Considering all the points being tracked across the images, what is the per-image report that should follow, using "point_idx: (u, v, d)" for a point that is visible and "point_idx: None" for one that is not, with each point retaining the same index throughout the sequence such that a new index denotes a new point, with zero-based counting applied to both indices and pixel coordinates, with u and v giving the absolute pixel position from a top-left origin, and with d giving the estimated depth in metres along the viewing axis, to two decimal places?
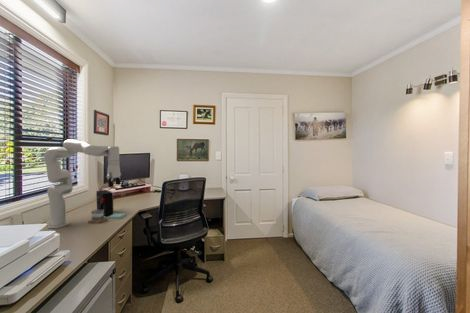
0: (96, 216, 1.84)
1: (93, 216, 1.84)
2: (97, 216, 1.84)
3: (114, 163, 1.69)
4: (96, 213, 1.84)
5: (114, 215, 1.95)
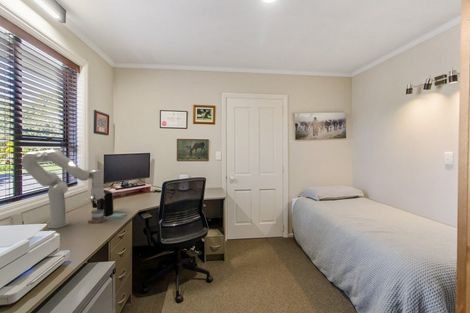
0: (96, 216, 1.84)
1: (93, 216, 1.84)
2: (97, 216, 1.84)
3: (97, 186, 1.82)
4: (96, 213, 1.84)
5: (114, 215, 1.95)
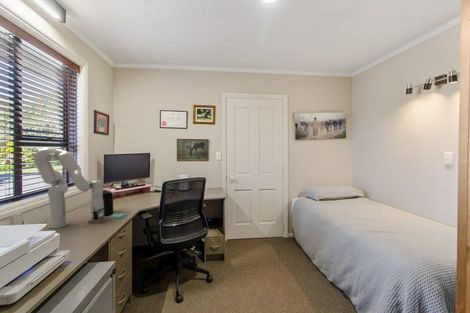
0: None
1: None
2: None
3: (97, 196, 1.83)
4: None
5: (114, 215, 1.95)
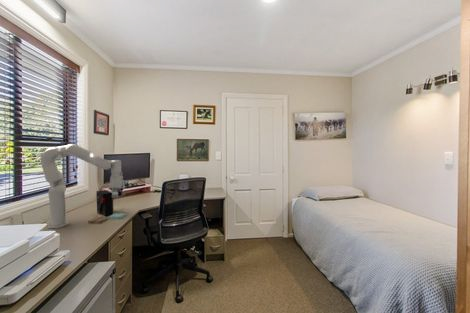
0: None
1: None
2: None
3: (111, 175, 1.93)
4: None
5: (114, 215, 1.95)
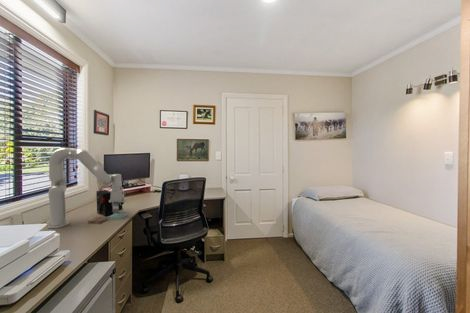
0: None
1: None
2: None
3: None
4: None
5: (114, 215, 1.95)
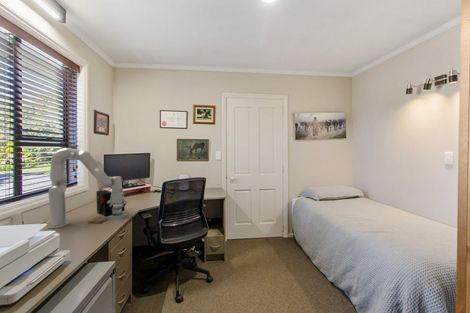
0: None
1: None
2: None
3: (112, 191, 1.94)
4: None
5: None
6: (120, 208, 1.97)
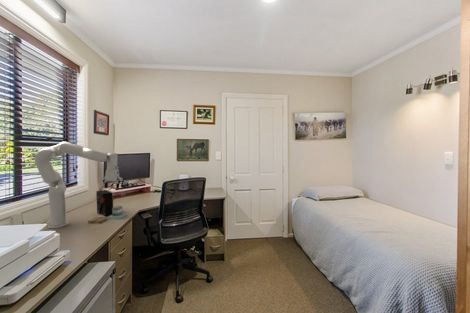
0: None
1: None
2: None
3: (107, 168, 1.91)
4: None
5: None
6: (120, 208, 1.97)
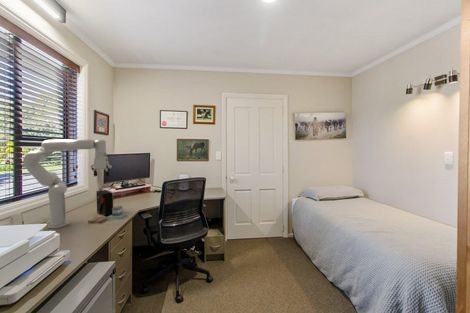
0: None
1: None
2: None
3: (95, 155, 1.85)
4: None
5: None
6: (120, 208, 1.97)
